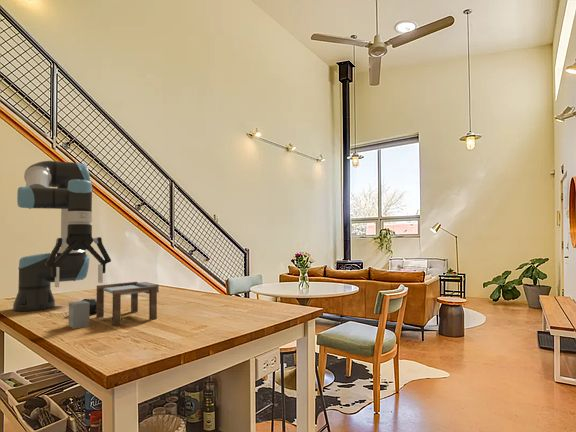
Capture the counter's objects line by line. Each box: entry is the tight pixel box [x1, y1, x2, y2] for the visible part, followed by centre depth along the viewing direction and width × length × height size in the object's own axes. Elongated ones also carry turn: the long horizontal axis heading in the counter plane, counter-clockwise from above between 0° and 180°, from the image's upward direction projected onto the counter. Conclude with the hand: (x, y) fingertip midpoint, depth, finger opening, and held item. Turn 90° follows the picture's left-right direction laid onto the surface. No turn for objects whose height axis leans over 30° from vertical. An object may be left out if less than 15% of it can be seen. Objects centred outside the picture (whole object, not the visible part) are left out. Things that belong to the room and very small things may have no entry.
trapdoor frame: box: [95, 281, 158, 327], centre depth 141 cm, size 20×15×12 cm
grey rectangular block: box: [68, 300, 90, 329], centre depth 130 cm, size 6×5×8 cm
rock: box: [81, 298, 97, 315], centre depth 151 cm, size 10×9×6 cm
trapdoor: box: [104, 281, 160, 296], centre depth 143 cm, size 15×16×3 cm
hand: (79, 284), depth 131 cm, fingers open, 13 cm apart
